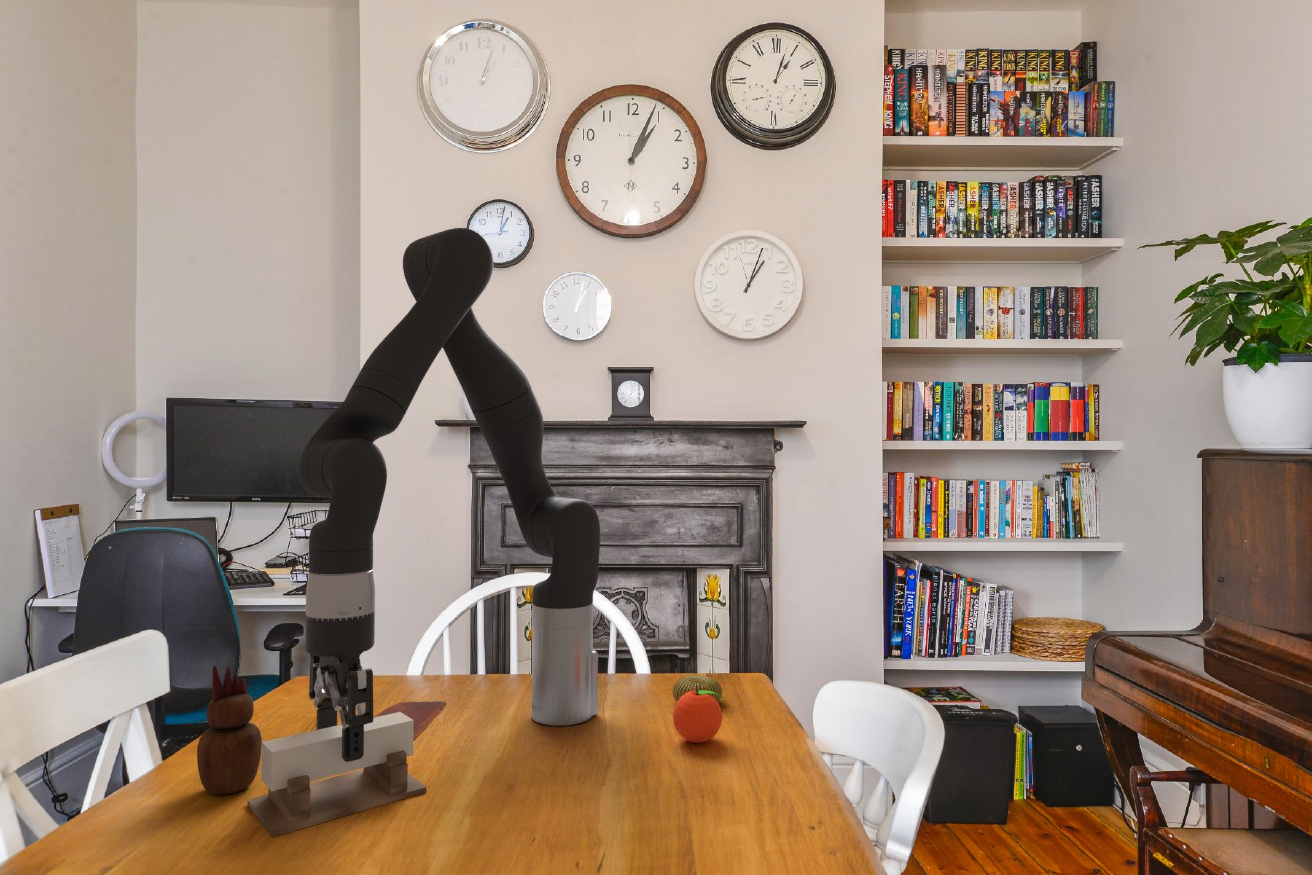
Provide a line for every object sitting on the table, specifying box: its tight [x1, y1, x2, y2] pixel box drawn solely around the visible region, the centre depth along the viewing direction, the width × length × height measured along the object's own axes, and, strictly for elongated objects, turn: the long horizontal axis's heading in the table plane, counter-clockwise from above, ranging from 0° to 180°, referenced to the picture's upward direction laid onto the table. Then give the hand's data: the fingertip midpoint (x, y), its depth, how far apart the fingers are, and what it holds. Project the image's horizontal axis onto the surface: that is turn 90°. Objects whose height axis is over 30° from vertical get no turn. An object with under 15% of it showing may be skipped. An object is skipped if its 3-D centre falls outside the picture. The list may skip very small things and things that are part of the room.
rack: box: [246, 750, 427, 838], centre depth 92 cm, size 17×10×5 cm, turn 131°
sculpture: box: [672, 674, 723, 703], centre depth 128 cm, size 8×4×8 cm
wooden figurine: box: [196, 665, 263, 795], centre depth 95 cm, size 7×6×15 cm
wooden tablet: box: [373, 700, 447, 742], centre depth 115 cm, size 27×10×2 cm, turn 175°
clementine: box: [672, 690, 727, 744], centre depth 111 cm, size 8×7×7 cm
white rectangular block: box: [260, 712, 414, 791], centre depth 93 cm, size 16×4×4 cm, turn 131°
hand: (339, 748), depth 92 cm, fingers open, 8 cm apart
